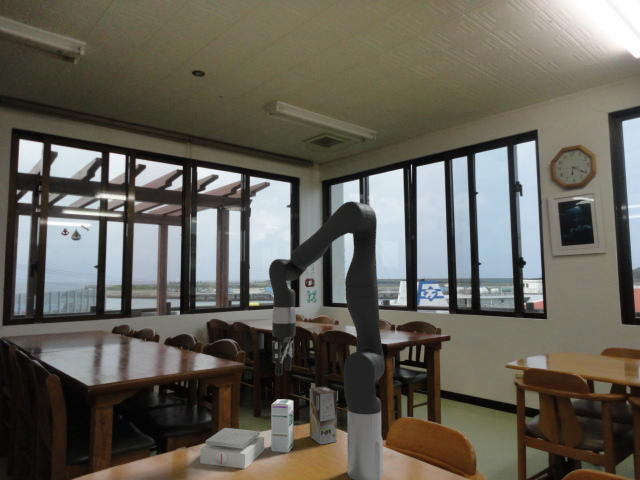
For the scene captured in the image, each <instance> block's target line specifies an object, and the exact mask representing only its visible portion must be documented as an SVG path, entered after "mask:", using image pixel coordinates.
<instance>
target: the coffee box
mask: <svg viewBox="0 0 640 480" xmlns="http://www.w3.org/2000/svg"><path fill="white" fill-rule="evenodd" d="M337 395H338V392H337V391H335V390H333V389H331V388H329V387H327V386H316V387H310V388H309V437H310V438H311V439H312V440H314V441H315V442H316V443H318V444H319V445H326V444H333V443H336V442H337V441H338V440H337V438H338V437H337V435H338V434H337V432H338V431H337V430H338V429H337V420H338V419H337V418H338V416H337V413H338V412H337V405H338V404H337V402H338V401H337V400H338V399H337Z"/></svg>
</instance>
